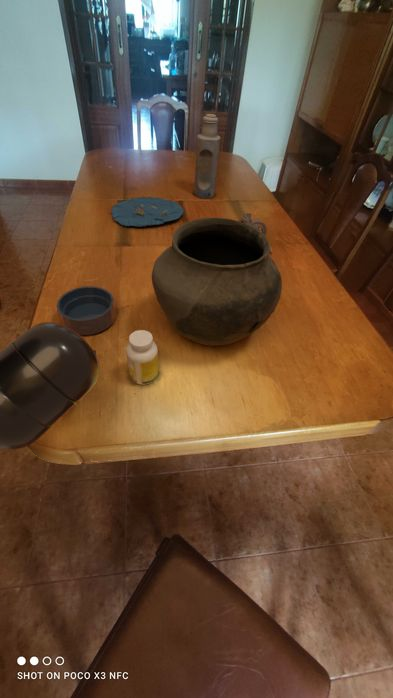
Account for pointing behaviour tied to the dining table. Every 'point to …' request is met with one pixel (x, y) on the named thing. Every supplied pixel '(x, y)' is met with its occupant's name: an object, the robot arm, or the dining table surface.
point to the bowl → (87, 310)
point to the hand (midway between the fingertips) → (57, 366)
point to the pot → (217, 281)
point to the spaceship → (255, 225)
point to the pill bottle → (142, 357)
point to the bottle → (207, 158)
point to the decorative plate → (146, 211)
